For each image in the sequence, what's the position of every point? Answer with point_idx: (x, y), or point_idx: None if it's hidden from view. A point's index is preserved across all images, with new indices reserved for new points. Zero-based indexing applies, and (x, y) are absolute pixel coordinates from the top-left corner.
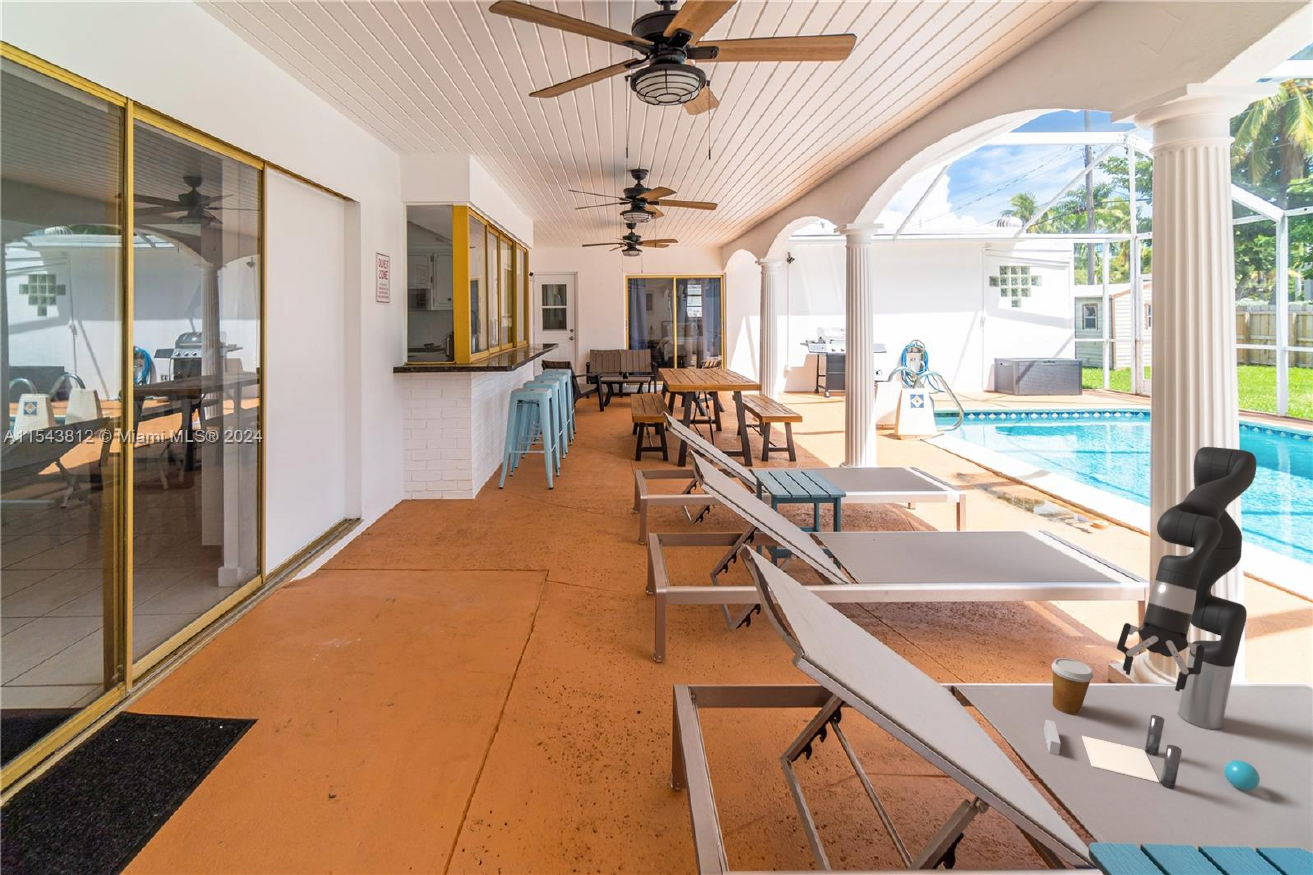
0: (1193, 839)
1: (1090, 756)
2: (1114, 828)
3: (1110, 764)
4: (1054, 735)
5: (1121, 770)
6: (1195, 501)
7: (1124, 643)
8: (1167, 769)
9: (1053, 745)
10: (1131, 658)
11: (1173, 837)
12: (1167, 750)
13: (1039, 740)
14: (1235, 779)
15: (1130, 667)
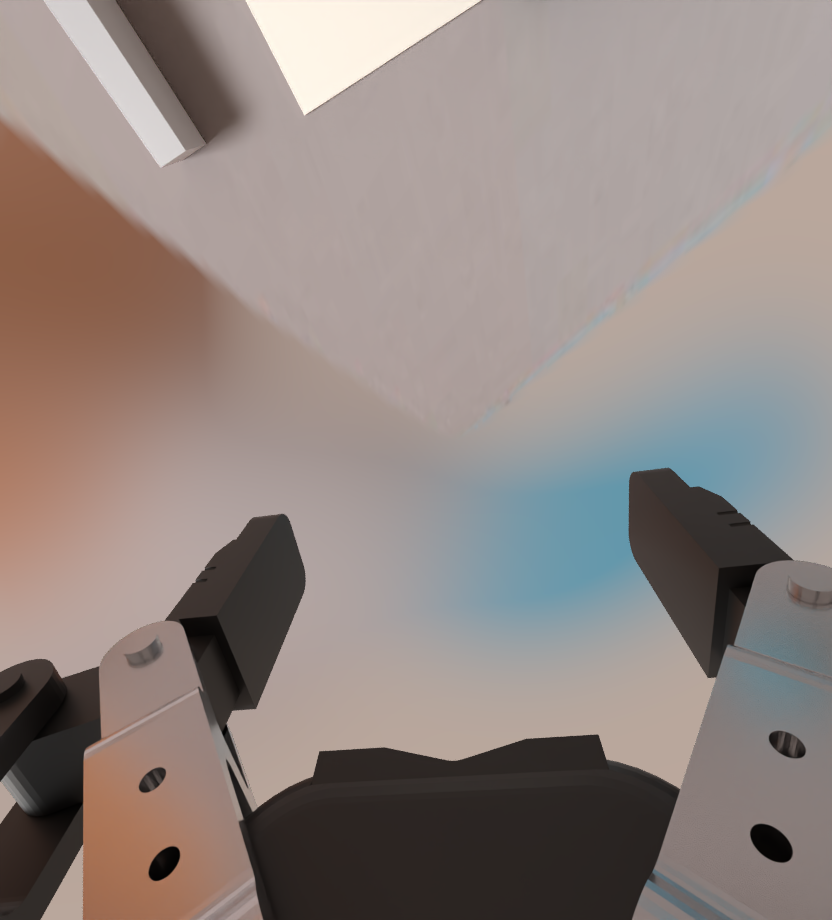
0: (615, 286)
1: (268, 30)
2: (452, 393)
3: (340, 23)
4: (133, 98)
5: (383, 35)
6: None
7: (55, 872)
8: None
9: (175, 160)
10: (242, 706)
11: (568, 320)
12: None
13: None
14: None
15: (282, 630)
